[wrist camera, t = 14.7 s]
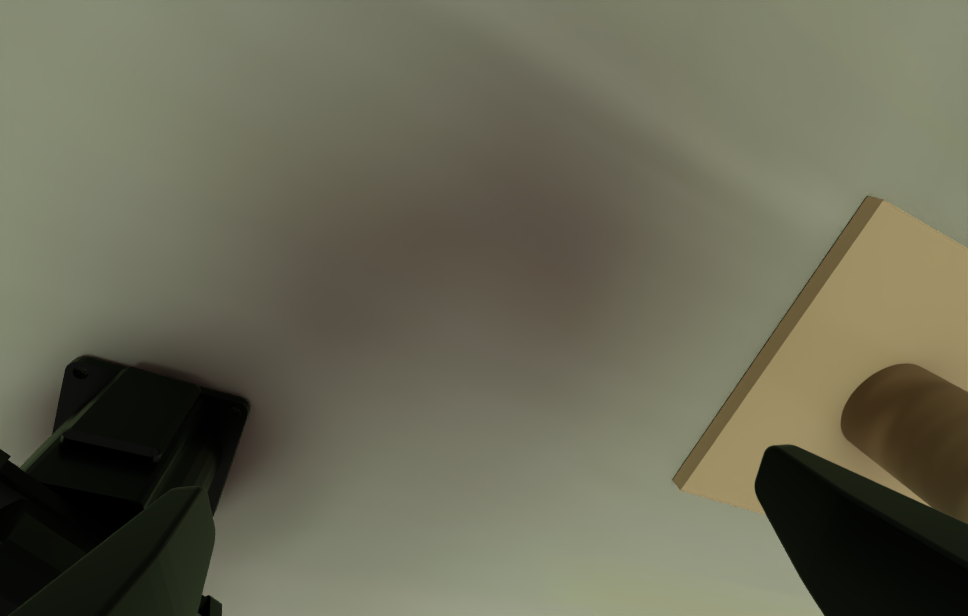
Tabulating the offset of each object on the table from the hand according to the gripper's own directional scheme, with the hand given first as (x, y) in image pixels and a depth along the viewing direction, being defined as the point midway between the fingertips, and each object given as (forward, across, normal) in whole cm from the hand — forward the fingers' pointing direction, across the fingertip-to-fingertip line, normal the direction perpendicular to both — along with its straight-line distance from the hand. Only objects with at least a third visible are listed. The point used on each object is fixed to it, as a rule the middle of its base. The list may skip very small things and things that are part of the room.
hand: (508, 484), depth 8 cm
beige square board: (+13, -23, +8) cm, 27 cm away
